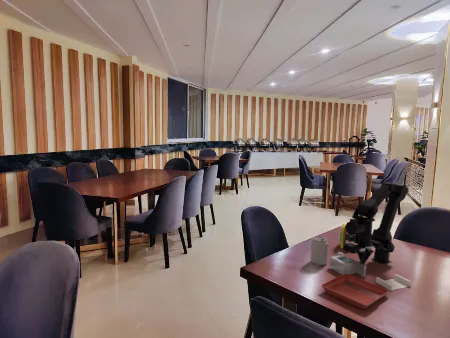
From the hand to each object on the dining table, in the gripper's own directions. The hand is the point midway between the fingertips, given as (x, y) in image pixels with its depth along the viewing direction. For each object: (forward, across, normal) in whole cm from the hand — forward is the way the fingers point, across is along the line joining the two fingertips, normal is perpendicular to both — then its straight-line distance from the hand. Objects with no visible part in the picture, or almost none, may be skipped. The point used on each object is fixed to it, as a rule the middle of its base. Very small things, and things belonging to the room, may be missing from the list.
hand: (362, 264), depth 141 cm
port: (+2, +10, 0) cm, 11 cm away
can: (+2, +16, -11) cm, 19 cm away
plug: (+2, +8, 0) cm, 8 cm away
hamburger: (+2, -14, -25) cm, 29 cm away
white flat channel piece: (+2, +1, +17) cm, 17 cm away
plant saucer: (+2, +22, +18) cm, 29 cm away
